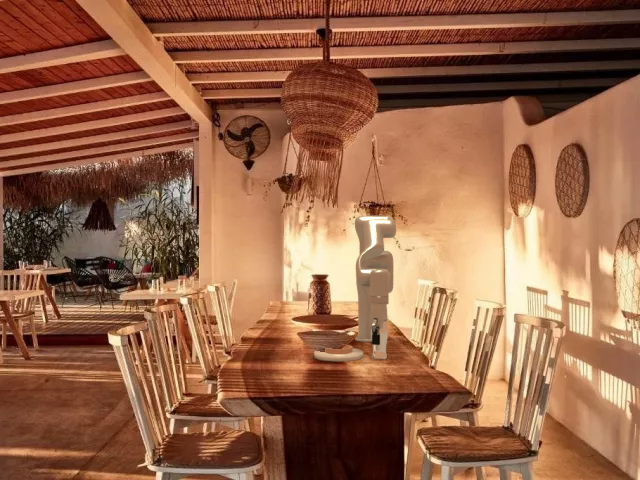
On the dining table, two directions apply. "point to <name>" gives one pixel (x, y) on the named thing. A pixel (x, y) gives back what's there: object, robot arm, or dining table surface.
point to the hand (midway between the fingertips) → (379, 342)
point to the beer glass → (381, 343)
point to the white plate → (339, 354)
